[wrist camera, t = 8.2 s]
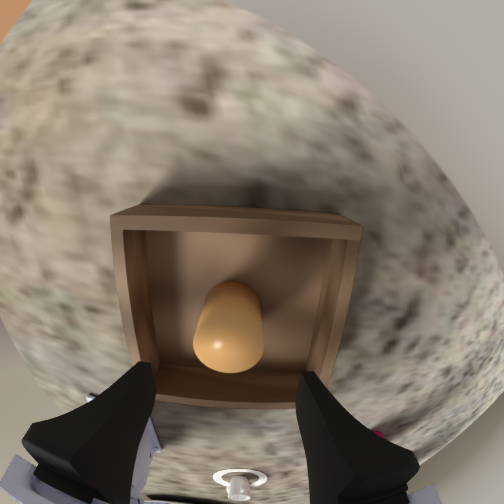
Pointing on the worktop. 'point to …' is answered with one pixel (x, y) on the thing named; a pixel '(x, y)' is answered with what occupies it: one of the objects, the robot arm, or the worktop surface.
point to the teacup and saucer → (239, 483)
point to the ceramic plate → (163, 502)
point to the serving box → (242, 270)
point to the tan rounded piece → (230, 328)
